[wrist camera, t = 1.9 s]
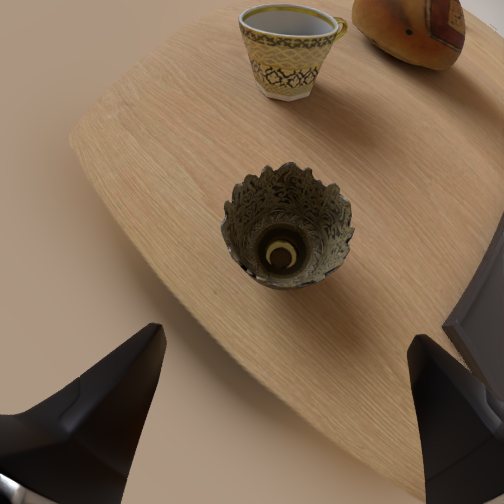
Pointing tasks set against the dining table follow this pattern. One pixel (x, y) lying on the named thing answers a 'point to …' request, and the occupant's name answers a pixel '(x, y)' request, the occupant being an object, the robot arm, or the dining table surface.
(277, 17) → the ceramic cup
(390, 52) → the ceramic pitcher
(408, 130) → the dining table surface
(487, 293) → the dark gray tray
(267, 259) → the cup
